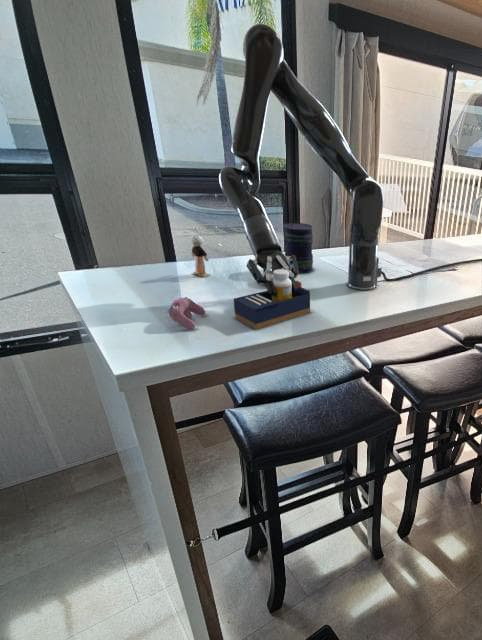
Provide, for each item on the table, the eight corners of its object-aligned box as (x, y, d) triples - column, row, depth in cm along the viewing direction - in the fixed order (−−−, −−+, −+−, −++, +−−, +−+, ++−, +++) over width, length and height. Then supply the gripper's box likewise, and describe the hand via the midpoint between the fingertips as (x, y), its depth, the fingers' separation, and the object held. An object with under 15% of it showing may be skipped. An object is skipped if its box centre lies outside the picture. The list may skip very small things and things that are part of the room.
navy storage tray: (289, 303, 124) (288, 276, 120) (310, 312, 120) (310, 285, 115) (235, 318, 111) (232, 289, 107) (256, 329, 107) (253, 300, 103)
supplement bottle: (268, 304, 116) (266, 270, 111) (285, 300, 120) (283, 267, 115) (279, 311, 113) (277, 276, 108) (296, 307, 117) (295, 272, 112)
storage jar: (318, 269, 153) (318, 227, 145) (299, 275, 145) (298, 230, 138) (298, 263, 157) (297, 221, 149) (278, 268, 150) (276, 224, 142)
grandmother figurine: (188, 274, 135) (181, 233, 129) (197, 271, 139) (191, 231, 132) (206, 279, 133) (201, 238, 127) (215, 276, 136) (210, 236, 130)
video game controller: (193, 319, 112) (176, 296, 108) (208, 313, 111) (191, 289, 107) (179, 335, 103) (161, 310, 100) (195, 328, 103) (177, 303, 99)
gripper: (239, 231, 107) (264, 291, 106) (290, 227, 116) (313, 283, 115) (232, 246, 113) (256, 304, 112) (281, 242, 121) (303, 295, 121)
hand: (285, 293), depth 113 cm, fingers closed on supplement bottle, 5 cm apart
